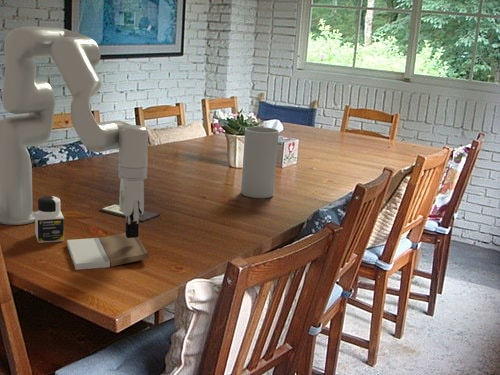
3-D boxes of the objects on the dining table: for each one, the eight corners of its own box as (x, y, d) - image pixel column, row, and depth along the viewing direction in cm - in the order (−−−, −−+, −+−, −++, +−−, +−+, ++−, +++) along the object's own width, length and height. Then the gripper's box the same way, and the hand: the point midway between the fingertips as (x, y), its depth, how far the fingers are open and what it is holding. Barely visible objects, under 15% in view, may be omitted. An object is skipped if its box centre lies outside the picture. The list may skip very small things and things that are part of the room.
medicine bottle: (37, 243, 179) (37, 202, 176) (35, 234, 186) (34, 195, 182) (64, 241, 182) (64, 200, 179) (60, 233, 188) (60, 193, 185)
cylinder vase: (236, 190, 248) (240, 126, 241) (267, 189, 252) (272, 126, 245) (246, 199, 236) (251, 132, 230) (278, 198, 240) (283, 133, 234)
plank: (111, 266, 167) (110, 261, 166) (99, 242, 183) (98, 237, 182) (148, 258, 170) (148, 252, 169) (134, 235, 186) (133, 230, 185)
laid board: (75, 269, 163) (75, 263, 163) (67, 245, 179) (67, 239, 179) (109, 267, 166) (109, 260, 166) (98, 243, 182) (98, 237, 182)
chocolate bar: (143, 220, 203) (99, 209, 211) (143, 223, 203) (99, 212, 211) (160, 214, 211) (117, 203, 219) (160, 217, 211) (117, 206, 219)
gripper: (113, 165, 176) (113, 229, 181) (124, 179, 163) (123, 247, 168) (140, 165, 179) (139, 227, 184) (153, 178, 166) (151, 244, 171)
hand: (131, 236), depth 176 cm, fingers closed
